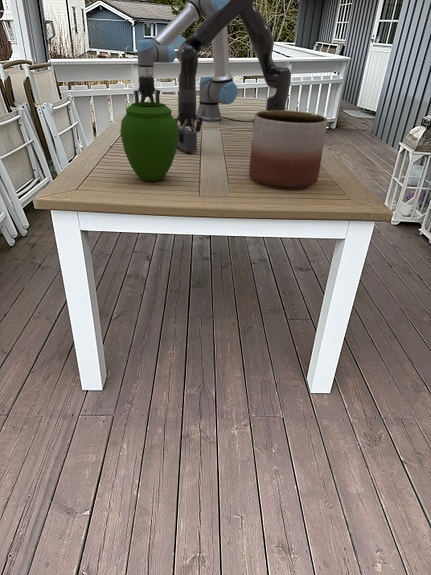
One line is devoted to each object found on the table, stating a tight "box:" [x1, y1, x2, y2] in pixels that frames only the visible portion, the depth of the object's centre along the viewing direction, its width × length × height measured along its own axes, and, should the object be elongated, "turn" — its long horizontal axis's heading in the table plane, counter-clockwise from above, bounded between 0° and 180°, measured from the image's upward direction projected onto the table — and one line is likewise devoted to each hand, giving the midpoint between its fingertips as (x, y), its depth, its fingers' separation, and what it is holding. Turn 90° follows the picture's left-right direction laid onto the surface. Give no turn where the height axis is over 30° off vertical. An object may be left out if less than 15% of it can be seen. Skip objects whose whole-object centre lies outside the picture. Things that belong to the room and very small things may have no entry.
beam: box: [177, 124, 198, 153], centre depth 196 cm, size 56×5×7 cm, turn 28°
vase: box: [119, 101, 179, 182], centre depth 140 cm, size 20×20×24 cm
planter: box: [248, 109, 329, 190], centre depth 146 cm, size 25×25×22 cm
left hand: (148, 125), depth 215 cm, fingers open, 5 cm apart
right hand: (187, 142), depth 179 cm, fingers closed on beam, 5 cm apart
